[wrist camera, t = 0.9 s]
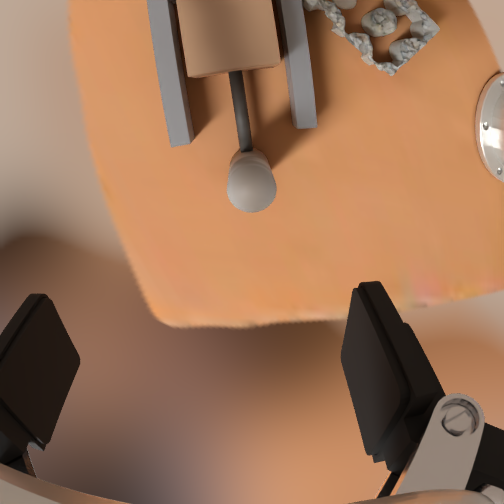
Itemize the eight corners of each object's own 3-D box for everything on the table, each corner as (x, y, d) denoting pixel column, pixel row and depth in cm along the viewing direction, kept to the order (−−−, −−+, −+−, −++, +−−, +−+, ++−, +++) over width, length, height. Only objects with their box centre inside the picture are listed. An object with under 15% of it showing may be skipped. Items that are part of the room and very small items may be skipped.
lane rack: (289, -26, 18) (294, -36, 16) (310, 123, 24) (317, 127, 22) (153, -7, 18) (145, -14, 16) (177, 141, 25) (171, 147, 23)
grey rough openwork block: (281, -7, 19) (288, -22, 15) (340, -50, 16) (354, -67, 13) (373, 81, 23) (393, 82, 19) (423, 35, 20) (448, 31, 17)
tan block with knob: (263, 1, 19) (270, -24, 13) (286, 178, 27) (299, 206, 21) (187, 12, 19) (171, -9, 14) (217, 188, 27) (210, 218, 21)
